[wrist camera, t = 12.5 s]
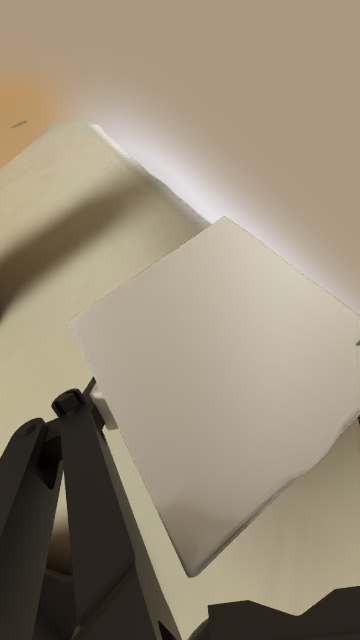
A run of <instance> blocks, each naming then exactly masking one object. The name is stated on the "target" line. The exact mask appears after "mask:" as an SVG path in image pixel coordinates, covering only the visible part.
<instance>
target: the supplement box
mask: <svg viewBox="0 0 360 640" xmlns="http://www.w3.org/2000/svg"><path fill="white" fill-rule="evenodd" d="M67 324H68V325H69V327H70V329H71V331H72V333H73V335H74V337H75V339H76V342H77V344H78V346H79V348H80V350H81V352H82V354H83V356H84V358H85V360H86V362H87V364H88V366H89V368H90V370H91V372H92V374H93V376H94V378H95V380H96V382H97V384H98V386H99V388H100V390H101V392H102V395H103V397H104V399H105V401H106V403H107V405H108V407H109V409H110V411H111V413H112V415H113V417H114V419H115V421H116V424H117V426H118V428H119V430H120V432H121V434H122V437H123V439H124V441H125V443H126V445H127V447H128V449H129V451H130V453H131V456H132V458H133V460H134V462H135V464H136V467H137V469H138V471H139V473H140V475H141V477H142V480H143V482H144V484H145V486H146V488H147V490H148V492H149V494H150V496H151V499H152V501H153V503H154V505H155V507H156V509H157V511H158V513H159V516H160V518H161V520H162V522H163V524H164V527H165V529H166V531H167V533H168V535H169V537H170V540H171V542H172V544H173V546H174V548H175V551H176V553H177V555H178V557H179V559H180V562H181V564H182V566H183V568H184V570H185V572H186V575H187V576H188V577H189V578H191V577H195V576H197V575H199V574H200V573H201V572H202V571H203V570H204V569H205V568H206V567H207V566H208V565H209V564H210V563H211V562H212V561H213V560H214V559H215V558H216V557H217V556H218V555H219V554H220V553H221V552H222V551H223V550H224V549H225V548H226V547H227V546H228V545H229V544H230V543H231V542H232V541H233V540H234V539H235V538H236V537H237V536H238V535H239V534H240V533H241V532H242V531H243V530H244V529H245V528H246V527H247V526H248V525H249V524H250V523H251V522H252V521H253V520H254V519H255V518H256V517H257V516H258V515H259V514H260V513H261V512H262V511H263V510H264V509H265V508H266V507H267V506H268V505H269V504H270V503H271V502H272V501H273V500H274V499H275V498H276V497H277V496H278V495H279V494H280V493H281V492H282V491H283V490H284V489H285V488H287V487H288V486H289V485H290V484H291V483H292V482H293V481H294V480H295V479H296V478H297V477H298V476H300V475H302V474H303V473H305V472H306V471H308V470H309V469H311V468H313V467H314V466H315V465H316V464H317V463H318V462H319V461H320V460H321V459H322V458H323V457H324V456H325V455H326V454H327V453H328V451H329V450H330V449H331V447H332V446H333V445H334V443H335V441H336V440H337V438H338V437H339V436H340V435H341V434H342V433H343V432H344V431H345V430H346V429H347V428H348V427H349V426H350V425H351V424H352V423H353V422H354V420H355V419H356V418H357V417H358V416H359V415H360V315H359V314H357V313H356V312H355V311H353V310H352V309H350V308H349V307H348V306H346V305H345V304H344V303H342V302H341V301H339V300H338V299H337V298H335V297H334V296H333V295H331V294H330V293H328V292H327V291H326V290H324V289H323V288H322V287H320V286H318V285H317V284H316V283H315V282H313V281H312V280H311V279H309V278H308V277H306V276H305V275H304V274H302V273H301V272H300V271H298V270H297V269H295V268H294V267H293V266H292V265H290V264H289V263H288V262H286V261H285V260H284V259H283V258H281V257H280V256H279V255H277V254H276V253H275V252H274V251H272V250H271V249H270V248H268V247H267V246H266V245H264V244H263V243H262V242H261V241H259V240H258V239H257V238H255V237H254V236H253V235H252V234H250V233H249V232H248V231H246V230H245V229H243V228H242V227H240V226H239V225H237V224H236V223H234V222H233V221H231V220H230V219H228V218H227V217H225V216H224V217H222V218H221V219H219V220H218V221H217V222H215V223H214V224H212V225H211V226H209V227H208V228H206V229H205V230H203V231H202V232H200V233H199V234H197V235H196V236H194V237H193V238H191V239H190V240H189V241H187V242H186V243H184V244H183V245H181V246H180V247H178V248H177V249H175V250H174V251H172V252H171V253H169V254H168V255H166V256H165V257H163V258H162V259H160V260H159V261H157V262H156V263H154V264H153V265H151V266H150V267H148V268H147V269H145V270H144V271H142V272H141V273H139V274H138V275H136V276H135V277H133V278H132V279H130V280H129V281H127V282H126V283H124V284H123V285H121V286H120V287H118V288H117V289H115V290H114V291H112V292H111V293H109V294H108V295H106V296H105V297H103V298H102V299H100V300H99V301H97V302H96V303H94V304H93V305H91V306H90V307H88V308H87V309H85V310H84V311H82V312H81V313H79V314H78V315H76V316H75V317H73V318H72V319H70V320H69V321H67Z"/></svg>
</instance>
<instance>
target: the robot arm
mask: <svg viewBox="0 0 360 640" xmlns="http://www.w3.org/2000/svg"><path fill="white" fill-rule="evenodd" d="M51 407H52V408H53V410H54V411H55V413H56V414H57V416H58V417H59V418H56V419H54V420H52V421H49V422H47V423H45V422H44V420H43V419H42V418H35V419H32V420H30V421H28V422H26V423H25V424H24V425H22V426H21V427H20V428H19V429H18V430H17V431H16V432H15V433H14V434H13V436H12V437H11V439H10V441H9V443H8V445H7V447H6V449H5V451H4V452H3V454H2V456H1V458H0V640H32V636H33V631H34V626H35V620H36V615H37V609H38V604H39V599H40V593H41V588H42V583H43V577H44V572H45V566H46V561H47V556H48V550H49V545H50V540H51V534H52V529H53V523H54V518H55V513H56V507H57V502H58V497H59V491H60V486H61V480H62V475H63V470H64V478H65V489H66V501H67V512H68V523H69V534H70V545H71V556H72V567H73V578H74V589H75V601H76V612H77V623H76V629H75V631H74V634H73V636H72V639H71V640H182V639H181V636H180V634H179V631H178V628H177V626H176V623H175V621H174V618H173V616H172V613H171V611H170V609H169V606H168V604H167V602H166V600H165V598H164V596H163V593H162V591H161V588H160V585H159V583H158V580H157V577H156V575H155V572H154V569H153V566H152V564H151V561H150V558H149V556H148V553H147V550H146V547H145V545H144V542H143V539H142V536H141V534H140V531H139V528H138V526H137V523H136V520H135V517H134V515H133V512H132V509H131V506H130V504H129V501H128V498H127V496H126V493H125V490H124V487H123V485H122V482H121V479H120V476H119V474H118V471H117V468H116V466H115V463H114V460H113V457H112V455H111V452H110V449H109V446H108V444H107V441H106V438H105V436H104V433H103V432H102V429H103V426H104V424H105V425H106V427H107V429H108V430H114V429H119V428H118V426H117V424H116V421H115V419H114V417H113V415H112V413H111V411H110V409H109V407H108V405H107V403H106V401H105V399H104V397H103V395H102V392H101V390H100V388H99V386H98V384H97V382H96V380H95V378H94V376H93V378H92V379H91V381H90V382H89V384H88V386H87V387H86V389H85V390H84V392H83V394H82V393H81V392H80V390H79V389H70V390H68V391H66V392H64V393H62V394H61V395H59V396H58V397H57V398H56V399H55V400H54V401H53V403H52V406H51ZM358 419H359V424H360V415H359V416H358ZM208 614H209V618H208V619H207V620H205V621H204V622H203V623H201V625H200V626H199V627H198V628H197V629H196V630H195V631H194V632H193V633H192V635H191V636H190V637H189V639H188V640H360V586H356V587H348V588H340V589H334V590H333V591H332V592H331V593H329V594H328V595H327V596H325V597H324V598H323V599H321V600H320V601H319V602H317V603H316V604H315V605H314V606H312V607H311V608H310V609H308V610H307V611H306V612H304V613H303V614H302V615H299V616H295V615H291V614H288V613H285V612H282V611H279V610H276V609H273V608H270V607H267V606H264V605H261V604H258V603H255V602H252V601H249V600H245V601H238V602H230V603H222V604H214V605H208Z"/></svg>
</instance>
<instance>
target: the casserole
mask: <svg viewBox="0 0 360 640" xmlns="http://www.w3.org/2000/svg"><path fill="white" fill-rule="evenodd" d="M76 623H77V612H76V601H75V589H74V578H73V576H69V575H63V574H61V573H58V572H56V571H53V570H51V569H48V568H46V567H45V572H44V577H43V583H42V588H41V593H40V599H39V604H38V609H37V615H36V620H35V626H34V631H33V636H32V640H71V639H72V636H73V634H74V631H75V629H76Z"/></svg>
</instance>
